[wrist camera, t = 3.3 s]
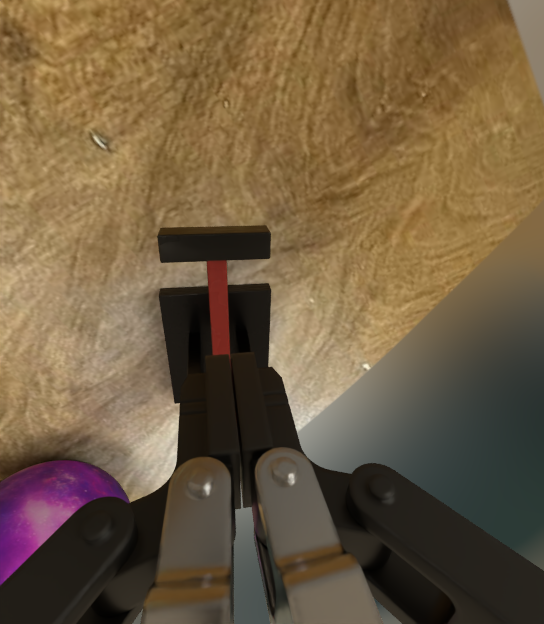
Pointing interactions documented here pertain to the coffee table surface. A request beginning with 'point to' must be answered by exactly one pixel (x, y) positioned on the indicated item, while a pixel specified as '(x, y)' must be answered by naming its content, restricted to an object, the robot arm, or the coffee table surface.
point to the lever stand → (197, 327)
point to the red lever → (215, 263)
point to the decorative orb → (45, 505)
